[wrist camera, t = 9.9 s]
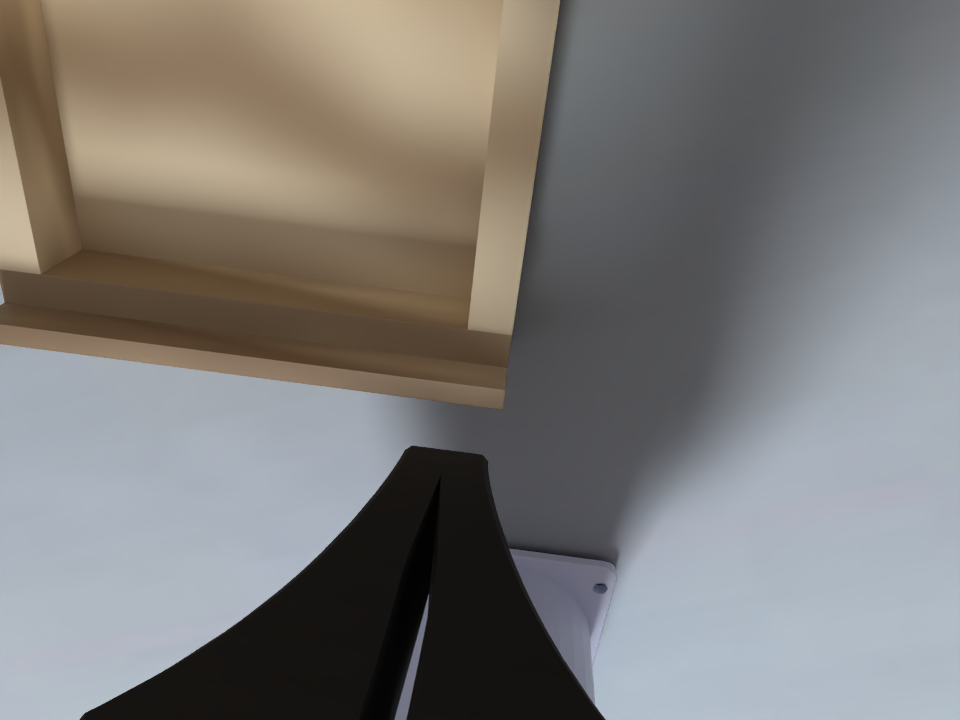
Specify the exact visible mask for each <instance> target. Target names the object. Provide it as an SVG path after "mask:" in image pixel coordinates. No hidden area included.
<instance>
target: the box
mask: <svg viewBox="0 0 960 720" xmlns="http://www.w3.org/2000/svg"><path fill="white" fill-rule="evenodd" d="M559 5H560V0H0V284H1V288H2V292H3V297H4V301H5V303H3V304H2V305H0V344H4V345H12V346H20V347H27V348H35V349H43V350H50V351H58V352H65V353H73V354H81V355H88V356H96V357H104V358H111V359H119V360H127V361H134V362H142V363H150V364H157V365H165V366H173V367H180V368H188V369H196V370H203V371H211V372H219V373H226V374H234V375H242V376H249V377H257V378H264V379H272V380H280V381H287V382H295V383H303V384H310V385H318V386H326V387H333V388H341V389H349V390H356V391H364V392H372V393H379V394H387V395H395V396H402V397H410V398H418V399H425V400H433V401H441V402H448V403H456V404H463V405H471V406H479V407H486V408H494V409H502V410H503V404H504V397H505V390H506V379H507V367H508V360H509V353H510V346H511V339H512V332H513V325H514V318H515V311H516V304H517V298H518V291H519V284H520V277H521V270H522V263H523V256H524V249H525V242H526V235H527V228H528V221H529V214H530V207H531V200H532V193H533V186H534V179H535V172H536V165H537V158H538V151H539V145H540V138H541V131H542V124H543V117H544V110H545V103H546V96H547V89H548V82H549V75H550V68H551V61H552V54H553V47H554V40H555V33H556V26H557V19H558V12H559Z"/></svg>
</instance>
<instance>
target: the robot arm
mask: <svg viewBox="0 0 960 720" xmlns="http://www.w3.org/2000/svg"><path fill="white" fill-rule="evenodd" d="M616 580H617V575H616V569H615V567H614V565H612V564H611V563H609V562H606V561H599V560H592V559H584V558H577V557H569V556H562V555H554V554H547V553H539V552H532V551H524V550H517V549H509V547H508V545H507V542H506V539H505V536H504V533H503V530H502V527H501V524H500V521H499V518H498V514H497V511H496V507H495V503H494V499H493V495H492V491H491V486H490V481H489V473H488V461H487V460H486V458H485V457H484V456H483V455H479V454H472V453H464V452H457V451H449V450H441V449H434V448H426V447H419V446H411V447H409V448H408V449H406V450H405V451H404V453H403V455H402V456H401V458H400V460H399V461H398V463H397V464H396V466H395V467H394V469H393V470H392V472H391V473H390V474H389V476H388V477H387V479H386V480H385V481H384V482H383V484H382V485H381V486H380V488H379V489H378V490H377V492H376V493H375V494H374V495H373V496H372V498H371V499H370V500H369V501H368V502H367V504H366V505H365V506H364V507H363V508H362V510H361V511H360V512H359V513H358V514H357V516H356V517H355V518H354V519H353V520H352V521H351V522H350V523H349V525H348V526H347V527H346V528H345V529H344V530H343V531H342V532H341V533H340V534H339V535H338V536H337V537H336V538H335V539H334V540H333V541H332V542H331V543H330V544H329V545H328V546H327V547H326V548H325V550H324V551H323V552H322V553H321V554H320V555H318V556H317V557H316V558H315V559H314V560H313V561H312V562H311V563H310V564H309V565H308V566H307V567H306V568H305V569H304V570H302V571H301V572H300V573H299V574H298V575H297V576H296V577H295V578H293V579H292V580H291V581H290V582H289V583H288V584H286V585H285V586H284V587H283V588H282V589H281V590H279V591H278V592H277V593H276V594H274V595H273V596H272V597H271V598H269V599H268V600H267V601H265V602H264V603H263V604H262V605H260V606H259V607H258V608H256V609H255V610H254V611H253V612H251V613H250V614H249V615H247V616H246V617H245V618H243V619H242V620H241V621H239V622H238V623H237V624H235V625H234V626H232V627H231V628H230V629H228V630H227V631H225V632H224V633H222V634H221V635H219V636H218V637H216V638H215V639H213V640H212V641H210V642H208V643H207V644H205V645H204V646H202V647H201V648H199V649H198V650H196V651H195V652H193V653H191V654H190V655H188V656H187V657H185V658H184V659H182V660H181V661H179V662H178V663H176V664H174V665H173V666H171V667H170V668H168V669H166V670H165V671H163V672H161V673H159V674H158V675H156V676H154V677H152V678H151V679H149V680H147V681H145V682H143V683H141V684H139V685H138V686H136V687H134V688H132V689H130V690H128V691H126V692H125V693H123V694H121V695H119V696H117V697H115V698H113V699H112V700H110V701H108V702H106V703H104V704H102V705H100V706H98V707H96V708H94V709H92V710H90V711H88V712H86V713H85V714H84V715H83V716H82V717H81V719H80V720H605V718H604V717H603V716H602V714H601V713H600V712H599V710H598V709H597V708H596V706H595V697H594V684H593V671H592V667H593V664H594V660H595V656H596V653H597V649H598V645H599V642H600V638H601V635H602V631H603V627H604V624H605V620H606V616H607V613H608V609H609V605H610V602H611V598H612V594H613V591H614V587H615V583H616ZM598 583H602V584H604V585H601V586H598V585H596V584H598Z"/></svg>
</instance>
